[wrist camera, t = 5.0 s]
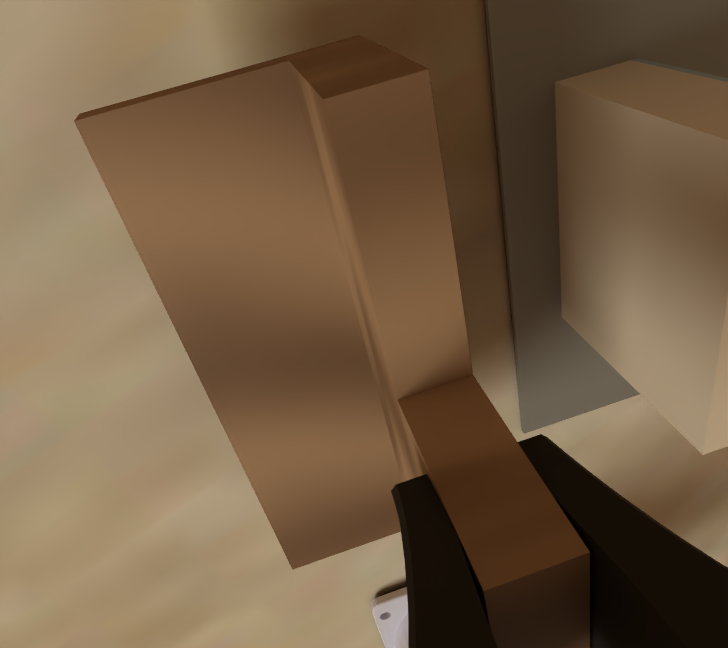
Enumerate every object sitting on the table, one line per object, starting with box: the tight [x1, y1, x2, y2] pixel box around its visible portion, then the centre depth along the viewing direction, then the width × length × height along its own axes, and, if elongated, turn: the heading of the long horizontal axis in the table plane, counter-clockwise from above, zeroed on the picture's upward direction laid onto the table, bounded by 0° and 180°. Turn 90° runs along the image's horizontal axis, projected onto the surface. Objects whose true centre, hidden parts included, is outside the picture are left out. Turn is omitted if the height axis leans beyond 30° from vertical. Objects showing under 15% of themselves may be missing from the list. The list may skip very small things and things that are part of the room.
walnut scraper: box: [74, 36, 590, 648], centre depth 12 cm, size 14×6×8 cm, turn 12°
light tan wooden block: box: [555, 58, 728, 455], centre depth 16 cm, size 8×2×7 cm, turn 12°
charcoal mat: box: [484, 0, 728, 433], centre depth 19 cm, size 18×15×1 cm
